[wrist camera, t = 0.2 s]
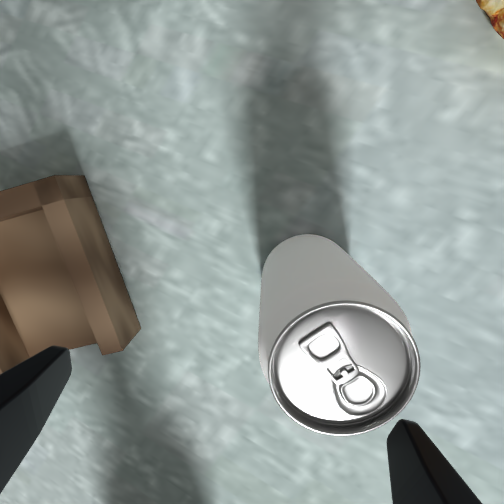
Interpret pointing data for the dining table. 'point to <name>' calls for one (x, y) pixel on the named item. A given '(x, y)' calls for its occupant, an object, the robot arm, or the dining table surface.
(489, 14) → the croissant
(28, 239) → the cradle
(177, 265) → the dining table surface
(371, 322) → the can
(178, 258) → the dining table surface
